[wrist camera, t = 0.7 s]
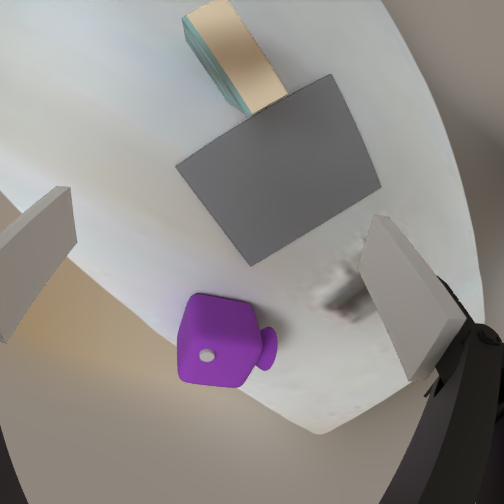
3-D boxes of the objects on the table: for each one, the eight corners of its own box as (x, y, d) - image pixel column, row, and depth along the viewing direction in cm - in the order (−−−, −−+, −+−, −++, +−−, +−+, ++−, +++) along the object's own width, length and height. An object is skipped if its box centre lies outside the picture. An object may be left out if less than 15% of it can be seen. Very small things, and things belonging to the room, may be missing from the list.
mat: (175, 165, 34) (175, 167, 34) (329, 74, 31) (331, 74, 31) (249, 264, 43) (250, 266, 42) (379, 185, 40) (381, 187, 39)
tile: (185, 41, 27) (181, 17, 15) (211, 26, 27) (223, -6, 15) (226, 100, 31) (248, 116, 20) (250, 86, 31) (287, 94, 19)
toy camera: (262, 344, 51) (276, 394, 43) (176, 343, 48) (177, 396, 39) (277, 291, 46) (296, 342, 37) (178, 288, 43) (178, 342, 34)
